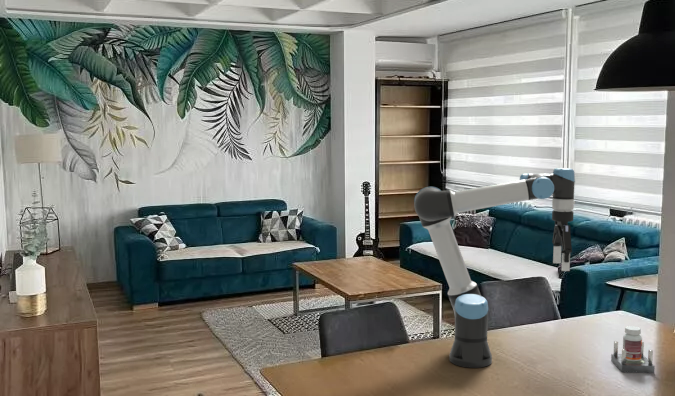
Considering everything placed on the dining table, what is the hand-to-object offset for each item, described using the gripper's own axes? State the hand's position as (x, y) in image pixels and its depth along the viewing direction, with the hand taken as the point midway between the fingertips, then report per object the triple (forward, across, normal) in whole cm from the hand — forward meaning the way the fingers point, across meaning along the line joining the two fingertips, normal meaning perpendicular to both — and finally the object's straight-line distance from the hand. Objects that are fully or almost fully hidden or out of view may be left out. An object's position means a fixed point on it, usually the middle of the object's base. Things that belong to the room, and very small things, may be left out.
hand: (561, 266), depth 265 cm
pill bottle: (+30, -14, -22) cm, 40 cm away
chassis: (+33, -14, -22) cm, 42 cm away
